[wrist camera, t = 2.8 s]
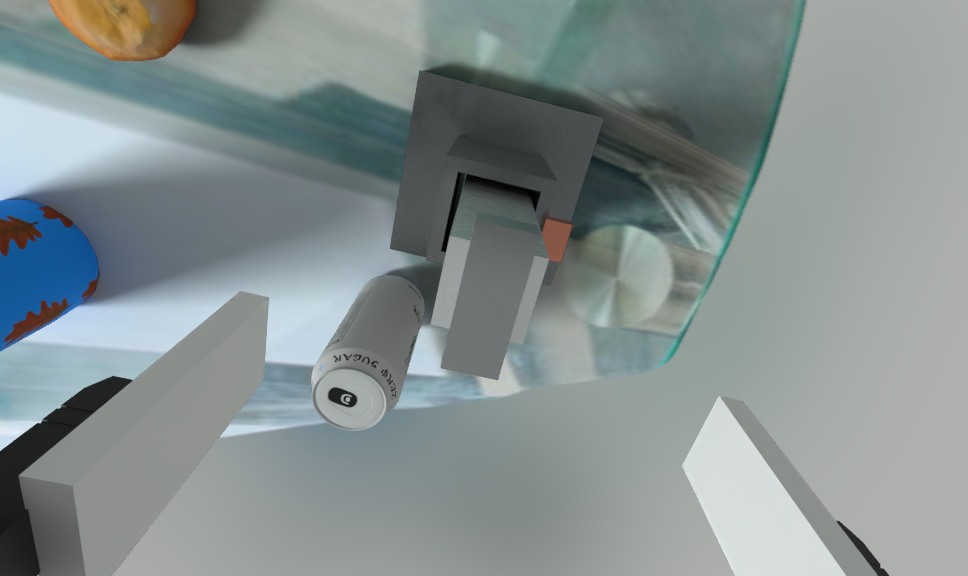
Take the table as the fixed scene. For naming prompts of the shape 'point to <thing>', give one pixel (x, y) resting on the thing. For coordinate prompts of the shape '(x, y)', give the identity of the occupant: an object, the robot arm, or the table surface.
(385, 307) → the energy drink can
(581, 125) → the stand base
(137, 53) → the fruit
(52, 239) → the thermos
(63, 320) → the table surface
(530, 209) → the column
